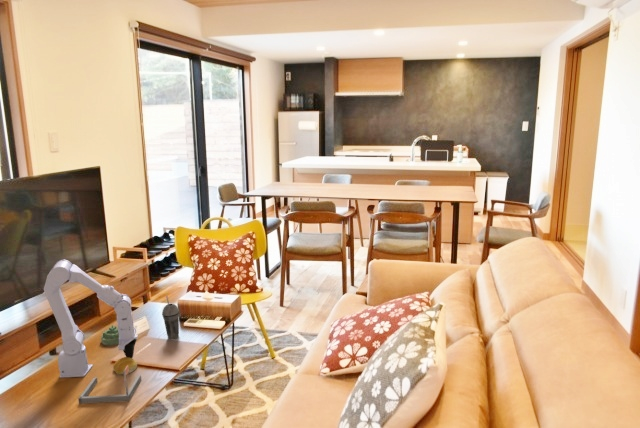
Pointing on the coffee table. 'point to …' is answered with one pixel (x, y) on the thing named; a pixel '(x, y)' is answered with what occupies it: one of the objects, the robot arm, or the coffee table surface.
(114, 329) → the decorative artifact
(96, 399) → the frame
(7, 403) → the coffee table surface
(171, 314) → the beverage cup
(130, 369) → the bread roll
